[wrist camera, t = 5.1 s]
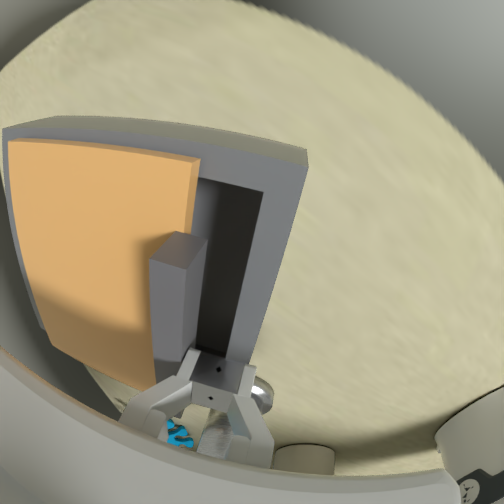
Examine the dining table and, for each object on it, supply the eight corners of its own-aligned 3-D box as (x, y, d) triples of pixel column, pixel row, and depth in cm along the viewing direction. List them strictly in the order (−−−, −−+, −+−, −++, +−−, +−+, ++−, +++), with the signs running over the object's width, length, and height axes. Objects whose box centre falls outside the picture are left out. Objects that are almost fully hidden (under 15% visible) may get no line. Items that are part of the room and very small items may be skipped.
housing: (306, 149, 13) (308, 167, 9) (246, 358, 21) (232, 410, 17) (56, 116, 14) (2, 128, 10) (71, 294, 22) (40, 327, 18)
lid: (225, 163, 9) (195, 184, 7) (193, 399, 16) (180, 433, 14) (18, 137, 10) (-22, 151, 7) (57, 338, 17) (38, 362, 15)
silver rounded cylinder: (281, 381, 22) (268, 465, 15) (265, 411, 25) (251, 481, 18) (213, 363, 22) (184, 444, 15) (207, 396, 25) (184, 463, 18)
